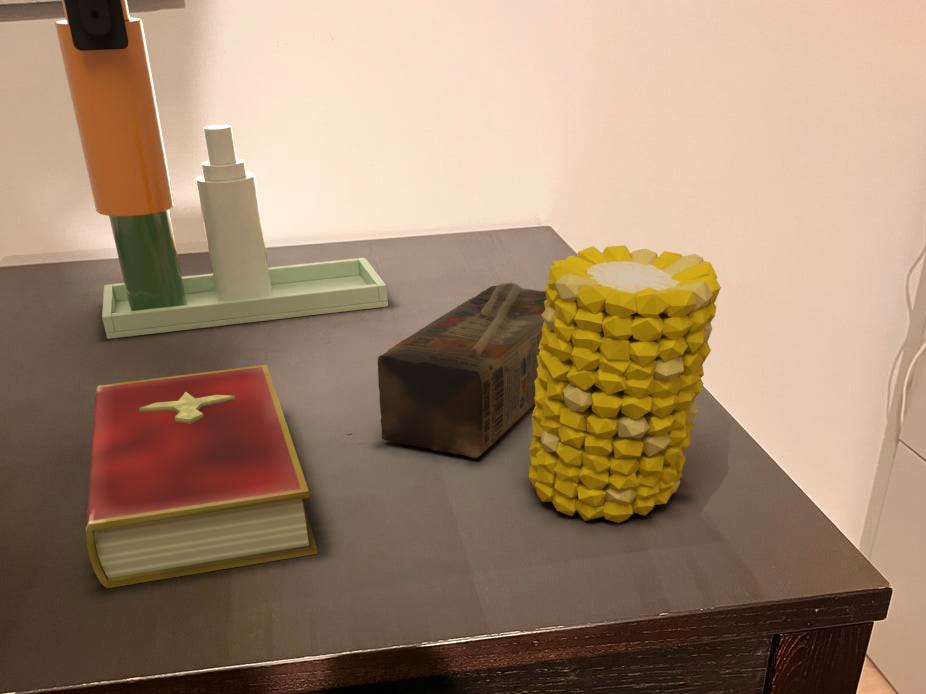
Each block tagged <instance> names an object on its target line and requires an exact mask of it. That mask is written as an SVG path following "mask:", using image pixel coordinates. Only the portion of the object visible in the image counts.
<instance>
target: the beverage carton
mask: <svg viewBox="0 0 926 694" xmlns="http://www.w3.org/2000/svg"><path fill="white" fill-rule="evenodd" d="M546 300H547V296H546V291H545V290H536V289H531V288H523V287H522V286H521V285H520V284H518V283H517V282H513V281H506V282H503V283H499V284H498V285H491V286H489V287H487V288H486V289H485V290H482V291H481V292H479V293H478V294H477V295H476V296H474V297H471V298H469V299H468V300H465V301H464V302H462V303H461V304H459V305H457V306H456V307H454V308H453V309H451V310H449V311H448V312H446V313H444V314H443V315H441V316H439V317H438V318H436V319H435V320H433V321H432V322H430V323H428V324H427V325H425V326H424V327H422V328H421V329H419V330H418V331H416V332H414V333H413V334H411V335H409V336H408V337H406V338H404V339H403V340H401V341H400V342H398V343H397V344H395V345H394V346H392V347H390V348H389V349H388V350H387V351H386V352H384V353H383V354H381V355H379V356H377V378H378V380H377V381H378V383H377V384H378V391H379V408H380V426H381V427H380V428H381V439H382V440H384V441H387V442H393V443H396V444H400V445H401V444H402V445H408V446H414V447H418V448H423V449H430V450H432V451H436V452H442V453H448V454H449V453H450V454H453V455H460V456H465V457H469V458H471V459H477V458H480V456H481V455H482V454H483V453H485V452H486V451H487V450H489V448H491V446H493V445H494V444H495V443H496V442H497V441H498V440H499V439H500V438H501V437H502V436H503V435H504V434H505V433H507V431H508V430H509V429H510V428H511V427H512V426H513V425H514V424H516V422H518V421H519V420H520V419H522V417H523V416H524V415H525V414H526V413H528V411H529V410H530V409H532V407H534V406H536V405H535V400H534V397H535V396H536V394H535V382H534V381H535V380H536V379H537V377H538V374H537V368H538V361H537V356H538V355H539V352H540V350H539V348H538V347H539V344H540V341H541V337H542V327H543V323H544V320H543V317H542V314H543V312H544V311H545V304H544V301H546Z"/></svg>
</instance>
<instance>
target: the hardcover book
mask: <svg viewBox="0 0 926 694" xmlns="http://www.w3.org/2000/svg"><path fill="white" fill-rule="evenodd" d="M93 410H94V412H93V425H92V437H91V438H92V441H91V452H90V453H91V454H90V469H89V481H88V497H87V507H86V509H87V510H86V522H85V523H86V524H85V540H86V541H85V542H86V549H87V553H88V558H89V561H90V563H91V566H92V570H93V572H94V574H95V576H96V577H97V579H98V581H99V583H100V584H101V585H102V586H103V587H104V588H106V589H112V588H118V587H125V586H129V585H130V586H131V585H135V584H142V583H146V582H154V581H159V580H166V579H171V578H178V577H184V576H191V575H196V574H203V573H209V572H213V571H220V570H226V569H233V568H239V567H245V566H250V565H251V566H252V565H257V564H262V563H268V562H269V563H270V562H274V561H280V560H286V559H287V560H288V559H292V558H293V559H294V558H298V557H300V558H301V557H306V556H310V555H311V556H312V555H318V554H319V553H318V547H317V543H316V539H315V538H314V537H315V536H314V534H313V531H312V530H313V529H312V527H311V525H310V521H309V517H308V514H307V511H306V508H305V504H304V501H303V499H308V498H310V497H311V496H310V495H311V494H310V490H309V488H308V484H307V481H306V478H305V475H304V472H303V469H302V466H301V462H300V460H299V457H298V453H297V451H296V448H295V445H294V442H293V438H292V435H291V433H290V429H289V427H288V424H287V421H286V418H285V414H284V412H283V409H282V405H281V403H280V400H279V397H278V394H277V391H276V388H275V385H274V381H273V378H272V375H271V373H270V370H269V366H268V364H261V365H251V366H243V367H236V368H228V369H221V370H213V371H212V370H211V371H204V372H195V373H189V374H179V375H172V376H163V377H155V378H149V379H147V378H146V379H140V380H139V379H138V380H132V381H123V382H115V383H107V384H99V385H97V387H96V390H95V396H94V409H93Z"/></svg>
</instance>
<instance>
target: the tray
mask: <svg viewBox="0 0 926 694" xmlns="http://www.w3.org/2000/svg"><path fill="white" fill-rule="evenodd" d="M268 268H269V275H270V282H271V289H272V296H264V297H255V298H246V299H237V300H228V301H219V302H218V301H217V296H216V290H215V285H214V279H213V273H204V274H198V275H197V274H195V275H186V276H182V279H183V284H184V290H185V295H186V300H187V305H183V306H174V307H165V308H156V309H147V310H138V311H130V306H129V302H128V298H127V293H126V289H125V284H124V282H120V283H112V284H111V283H110V284H104V285H103V292H102V293H103V294H102V310H101V319H102V324H103V327H104V331H105V336H106V339H107V340H113V339H118V338H119V339H120V338H129V337H137V336H145V335H154V334H155V335H156V334H163V333H171V332H172V333H173V332H180V331H188V330H197V329H205V328H206V329H207V328H214V327H215V328H216V327H222V326H233V325H240V324H248V323H250V324H251V323H258V322H265V321H274V320H275V321H276V320H285V319H291V318H300V317H301V318H302V317H308V316H317V315H326V314H334V313H336V314H337V313H342V312H343V313H345V312H353V311H361V310H369V309H370V310H371V309H379V308H387V307H389V301H388V288H387V287H388V286H387V284H386V283H385V282H384V280H383V279H382V278H381V276H380V275H379V274H378V272H377V271H376V270H375V269H374V267H373V266H372V264H370V262H369V261H368V259H366V258H365V257H358V258H348V259H339V260H328V261H320V262H309V263H300V264H291V265H281V266H271V267H268Z"/></svg>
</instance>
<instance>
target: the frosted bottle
mask: <svg viewBox="0 0 926 694" xmlns="http://www.w3.org/2000/svg"><path fill="white" fill-rule="evenodd" d="M203 133H204V140H205V145H206V151H207V158H208V160H205V161H202V162H201V170H202V174H201V175H199V176H197V177H196V178H195V183H196V187H197V194H198V200H199V204H200V211H201V215H202V216H201V217H202V222H203V228H204V233H205V239H206V245H207V250H208V256H209V263H210V268H211V274H213V279H214V285H215V290H216V296H217V301H218V302H219V301H228V300H237V299H246V298H255V297H264V296H272V289H271V282H270V275H269V268H270V267H269V262H268V255H267V248H266V241H265V235H264V228H263V221H262V215H261V208H260V200H259V194H258V187H257V180H256V174H255V173H254V172H252V171H247V166H246V161H245V159H242V158H239V157H237V153H236V147H235V146H236V145H235V141H234V140H235V139H234V133H233V128H232V125H230V124H214V125H213V124H212V125H207V126H204V127H203Z"/></svg>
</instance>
